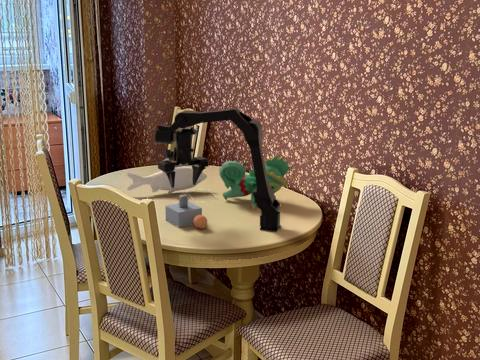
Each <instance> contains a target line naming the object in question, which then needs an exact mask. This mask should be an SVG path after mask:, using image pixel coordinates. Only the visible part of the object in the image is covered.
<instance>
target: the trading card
mask: <svg viewBox="0 0 480 360" xmlns="http://www.w3.org/2000/svg"><path fill="white" fill-rule="evenodd" d="M200 190H201V191H202V190H205V188H203V189H199V191H200ZM207 190H208V191H209V193H211V194H213V196H214V197H216V194H214V193H213V192H212V191H211V190H210V189H209V188H207ZM188 191H189V192H190V191H193V190H192V189H189V190H185V192H186V193H188ZM188 197H190V198H191V199H192V201H194V203H197V201H196V200H195V198H193V197H192V195H190V194H188ZM213 201H217V199H214V200H211V202H213ZM202 202H206V200H204V201H200V203H202Z"/></svg>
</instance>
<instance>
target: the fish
mask: <svg viewBox="0 0 480 360" xmlns="http://www.w3.org/2000/svg"><path fill="white" fill-rule="evenodd" d="M166 160H168V161H169V158H167V159H165V158H164V160H163V161H166ZM174 171H175V184H174V188H171V185H170V182H169V179H168V177H167V175H166V173H165V172H163V171H162V170H160V171H157V172H156V173H153V174H150V175H148V176H141V175H138V174H135V173H131V172H127V175H126V176H127V177H129V179H131V180H132V184H130V186H128V187H127V189H126V191H132V190H135V189H136V188H140V187H141V186H144V185H147V186H148V185H149V186H150V187H151V188H150V189H151V191H152V193H153V194H154V193H156V192H158V191H159V190H161V191H167V193H168V194H173V193H174V192H177V191H178V192H179V191H184V190H185V191H186V190H188V189H189V190H190V189H193V188H194V187H196V186H197V185H199V184H200V183H202V182H203V181H205V180H206V179H207V177H208V176H207V175H208V174H206V173H204V172H202V173H201V175H200V176H199V178H198V180H197V182H196V184H195V185H193V169H192V166H183V167H175V169H174Z"/></svg>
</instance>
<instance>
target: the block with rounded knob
mask: <svg viewBox="0 0 480 360" xmlns="http://www.w3.org/2000/svg"><path fill="white" fill-rule="evenodd" d="M188 199H189V194H179V195H178V201H179V203H173V204H168V205H167V204H166V205H165V221H167V222H168V221H169V222H168V223H170V224H172V225H174V226H175V225H176V226H175V227H177V226H178V227H177V228H183V227H187V225H188V226H191V225H194V218H195V217H196V216H198V215H203V207H201V206H199V205H196V204H195V203H192V202H190V201H189V200H188ZM182 226H183V227H182Z"/></svg>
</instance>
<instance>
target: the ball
mask: <svg viewBox="0 0 480 360" xmlns="http://www.w3.org/2000/svg"><path fill="white" fill-rule="evenodd" d="M207 224H208V219H207V217H206V216H205V215H203V214H202V215H198V216H196V217H195V218H194V224H193V225H194V227H196V229H200V230H201V229H204V228H206V226H207Z"/></svg>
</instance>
